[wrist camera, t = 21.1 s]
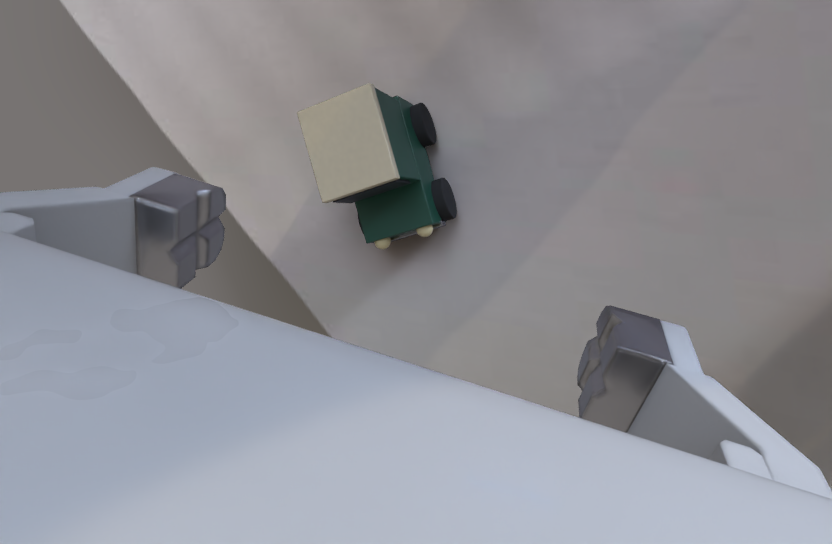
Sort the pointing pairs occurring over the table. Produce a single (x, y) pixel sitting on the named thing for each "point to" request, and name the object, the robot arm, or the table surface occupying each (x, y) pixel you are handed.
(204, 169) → the table surface
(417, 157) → the toy jeep
